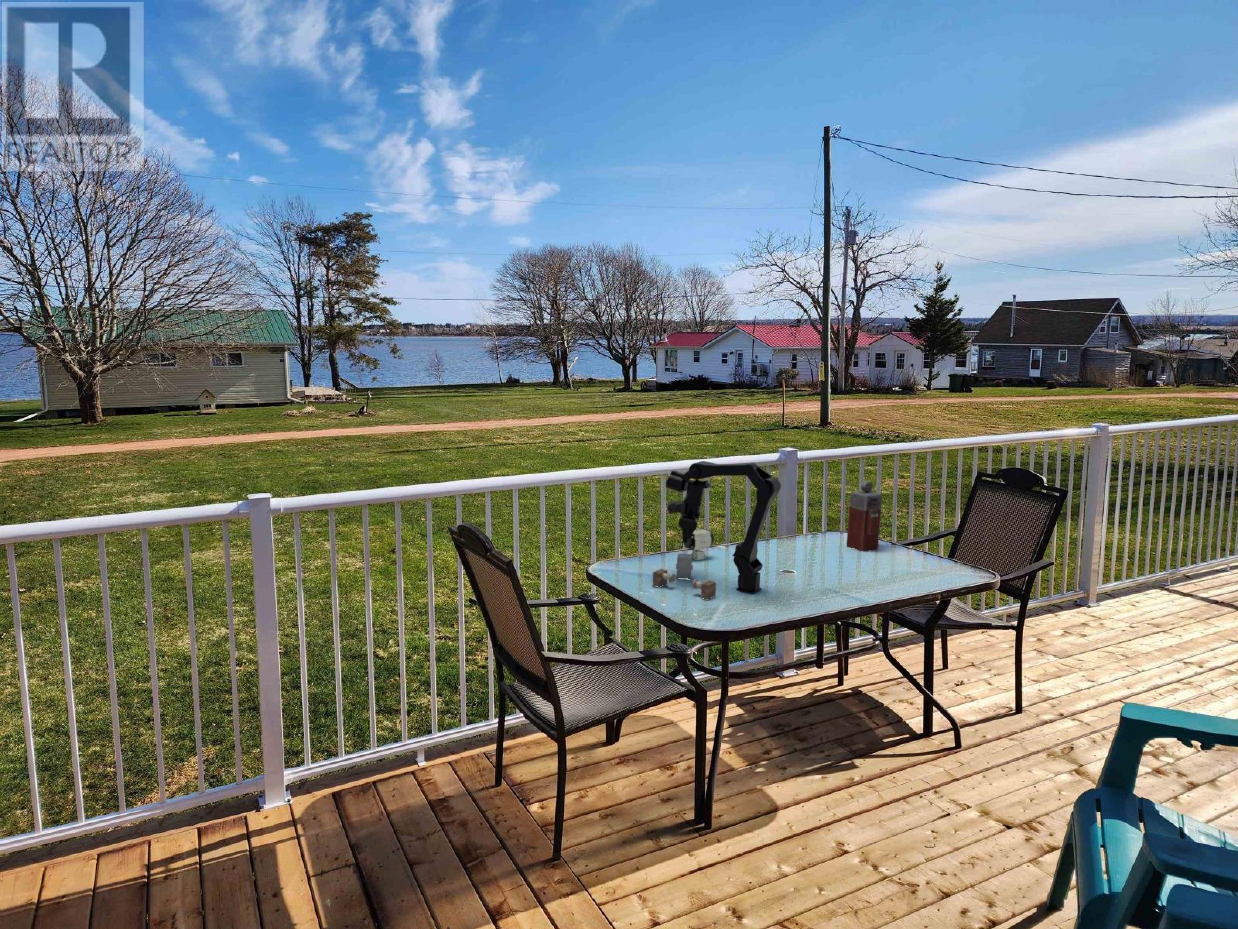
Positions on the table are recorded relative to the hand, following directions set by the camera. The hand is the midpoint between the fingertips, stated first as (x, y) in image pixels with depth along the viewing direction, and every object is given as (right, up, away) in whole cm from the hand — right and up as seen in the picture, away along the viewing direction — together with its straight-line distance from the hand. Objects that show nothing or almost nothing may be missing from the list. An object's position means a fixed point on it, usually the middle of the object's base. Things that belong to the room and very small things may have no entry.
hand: (685, 539), depth 270 cm
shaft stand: (-2, -16, -13) cm, 21 cm away
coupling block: (0, -14, +2) cm, 14 cm away
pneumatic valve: (+7, -10, +25) cm, 28 cm away
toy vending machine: (+78, -9, +47) cm, 91 cm away
